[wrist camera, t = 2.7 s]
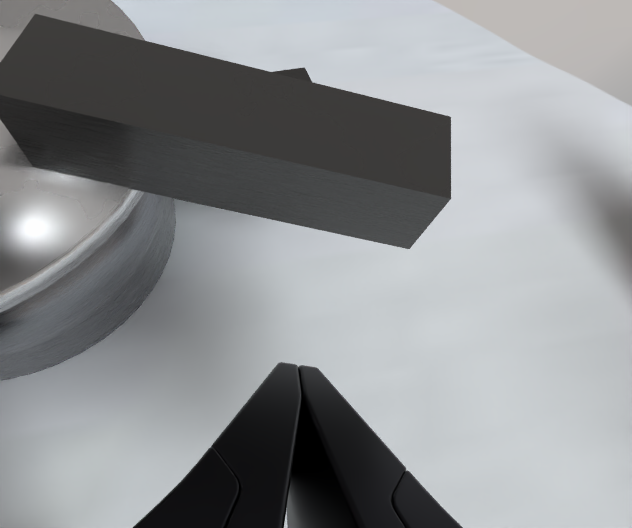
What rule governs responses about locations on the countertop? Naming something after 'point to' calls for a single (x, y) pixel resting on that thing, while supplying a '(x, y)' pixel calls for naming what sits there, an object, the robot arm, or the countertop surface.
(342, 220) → the cooker lid
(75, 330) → the cooker pot
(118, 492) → the countertop surface
